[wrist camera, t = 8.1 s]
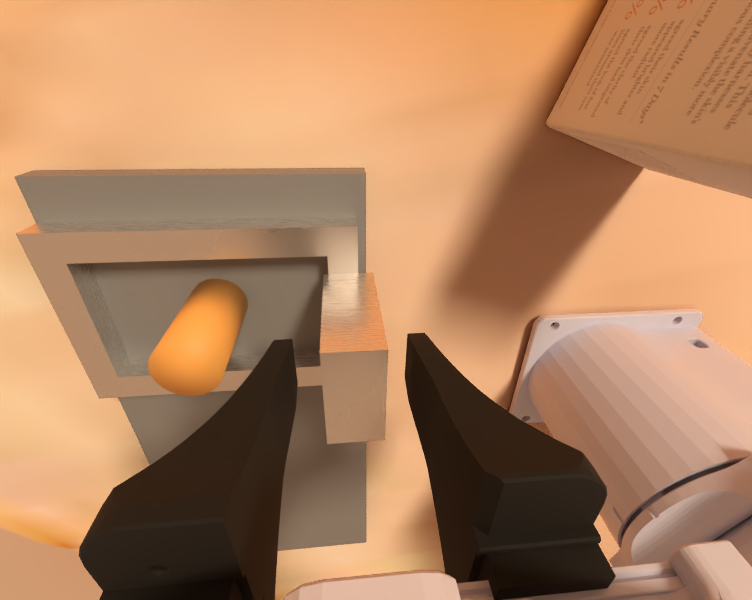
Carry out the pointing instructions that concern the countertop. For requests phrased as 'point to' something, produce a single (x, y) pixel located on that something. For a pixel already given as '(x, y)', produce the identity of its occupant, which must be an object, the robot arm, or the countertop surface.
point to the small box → (667, 89)
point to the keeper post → (200, 339)
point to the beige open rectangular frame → (224, 241)
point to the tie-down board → (259, 328)
